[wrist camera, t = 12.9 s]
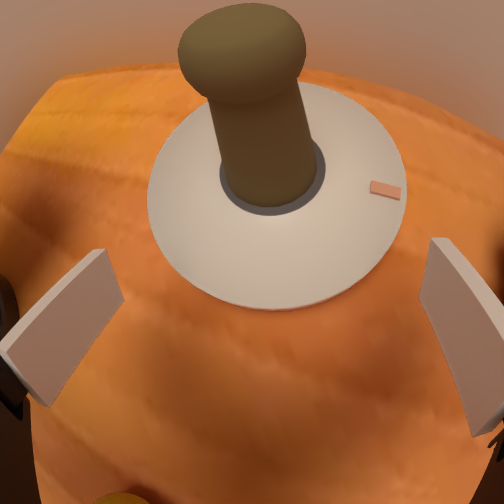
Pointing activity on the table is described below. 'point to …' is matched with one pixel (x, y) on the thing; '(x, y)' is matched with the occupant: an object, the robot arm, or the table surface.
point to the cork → (254, 99)
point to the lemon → (121, 499)
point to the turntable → (280, 211)
